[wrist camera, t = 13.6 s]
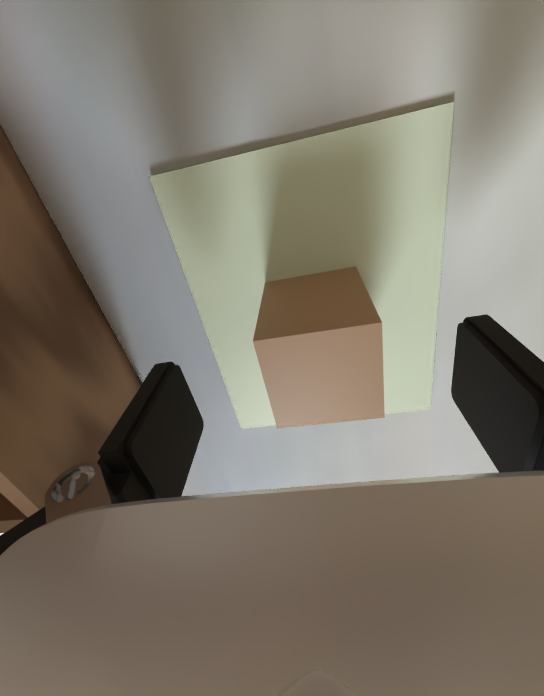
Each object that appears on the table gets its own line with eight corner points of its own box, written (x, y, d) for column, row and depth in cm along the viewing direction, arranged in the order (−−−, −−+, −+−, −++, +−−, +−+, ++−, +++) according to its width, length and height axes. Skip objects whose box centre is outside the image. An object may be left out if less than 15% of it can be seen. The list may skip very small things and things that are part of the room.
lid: (425, 399, 19) (471, 491, 14) (242, 419, 20) (226, 506, 16) (444, 103, 11) (558, 78, 6) (156, 174, 13) (73, 196, 8)
